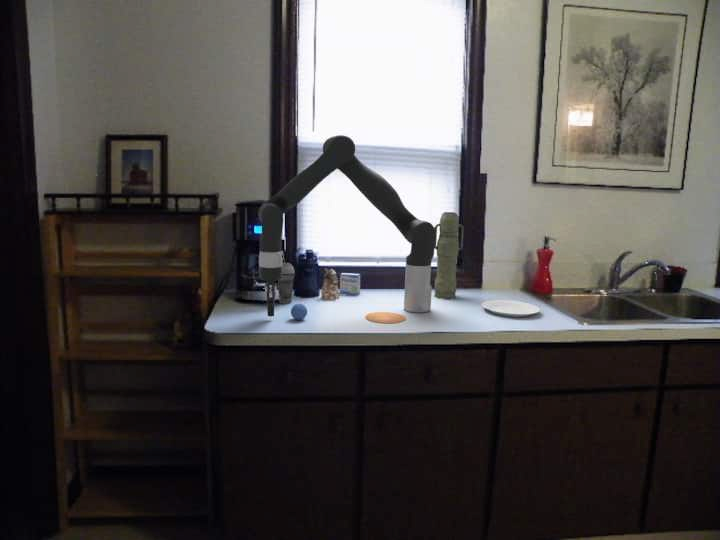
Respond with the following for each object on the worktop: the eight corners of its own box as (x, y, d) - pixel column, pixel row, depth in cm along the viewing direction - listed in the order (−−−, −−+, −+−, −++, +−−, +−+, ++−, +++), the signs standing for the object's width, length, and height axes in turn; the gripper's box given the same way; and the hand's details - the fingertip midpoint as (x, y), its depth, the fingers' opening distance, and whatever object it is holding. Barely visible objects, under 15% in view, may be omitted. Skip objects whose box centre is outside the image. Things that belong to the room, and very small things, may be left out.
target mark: (400, 312, 184) (400, 311, 184) (410, 323, 171) (410, 322, 171) (362, 312, 182) (362, 312, 182) (369, 324, 168) (369, 323, 168)
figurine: (333, 301, 198) (333, 271, 196) (317, 298, 201) (318, 269, 199) (342, 297, 204) (343, 268, 202) (327, 295, 207) (328, 266, 205)
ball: (306, 317, 174) (306, 301, 173) (307, 321, 169) (307, 305, 168) (290, 317, 173) (290, 302, 172) (291, 322, 168) (291, 306, 167)
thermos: (428, 294, 215) (432, 211, 208) (455, 294, 216) (460, 212, 210) (433, 299, 206) (438, 213, 200) (461, 299, 207) (467, 213, 201)
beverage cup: (291, 305, 190) (291, 252, 186) (272, 304, 191) (272, 251, 187) (297, 301, 197) (297, 250, 193) (279, 299, 198) (279, 249, 194)
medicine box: (339, 294, 209) (339, 274, 208) (341, 292, 214) (342, 272, 212) (358, 296, 208) (358, 275, 207) (360, 293, 213) (360, 273, 211)
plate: (471, 311, 189) (471, 306, 189) (498, 302, 204) (498, 297, 204) (523, 323, 175) (524, 317, 175) (548, 313, 190) (549, 307, 190)
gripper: (282, 268, 160) (282, 321, 164) (281, 261, 173) (281, 310, 176) (258, 268, 159) (258, 321, 162) (259, 261, 172) (259, 310, 175)
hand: (270, 315), depth 169 cm, fingers closed
